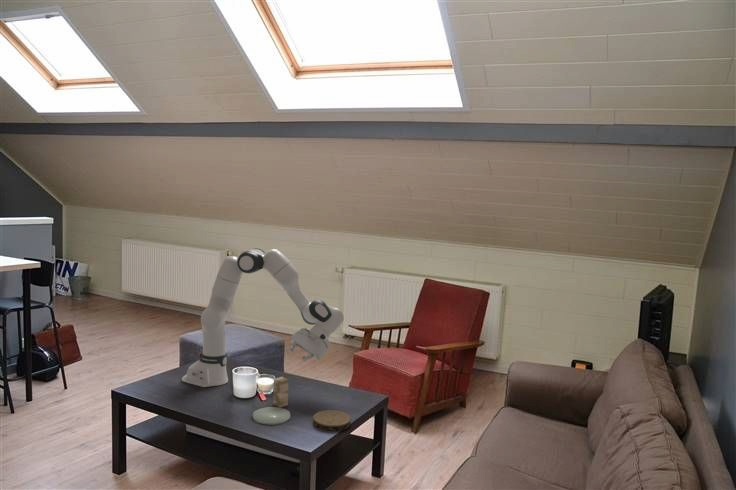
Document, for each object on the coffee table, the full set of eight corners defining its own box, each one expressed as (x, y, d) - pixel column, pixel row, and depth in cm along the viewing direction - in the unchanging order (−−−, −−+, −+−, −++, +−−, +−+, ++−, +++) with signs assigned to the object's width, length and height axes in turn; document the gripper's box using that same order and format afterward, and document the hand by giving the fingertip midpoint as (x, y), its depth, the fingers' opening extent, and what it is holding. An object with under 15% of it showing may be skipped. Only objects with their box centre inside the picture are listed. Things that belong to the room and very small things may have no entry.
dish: (246, 421, 250) (246, 418, 250) (262, 407, 266) (262, 404, 266) (281, 427, 246) (281, 424, 246) (295, 413, 262) (296, 410, 262)
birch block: (273, 404, 270) (274, 379, 268) (280, 402, 273) (281, 376, 272) (280, 407, 267) (281, 381, 265) (287, 404, 270) (288, 379, 269)
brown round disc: (345, 434, 244) (346, 427, 244) (308, 429, 247) (308, 422, 246) (353, 419, 260) (354, 412, 259) (318, 414, 262) (318, 408, 262)
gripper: (301, 322, 287) (280, 342, 281) (329, 340, 274) (308, 361, 268) (305, 331, 291) (285, 350, 285) (333, 348, 278) (312, 369, 272)
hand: (296, 355), depth 277 cm, fingers open, 8 cm apart
